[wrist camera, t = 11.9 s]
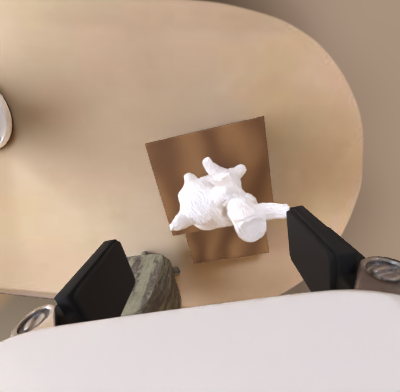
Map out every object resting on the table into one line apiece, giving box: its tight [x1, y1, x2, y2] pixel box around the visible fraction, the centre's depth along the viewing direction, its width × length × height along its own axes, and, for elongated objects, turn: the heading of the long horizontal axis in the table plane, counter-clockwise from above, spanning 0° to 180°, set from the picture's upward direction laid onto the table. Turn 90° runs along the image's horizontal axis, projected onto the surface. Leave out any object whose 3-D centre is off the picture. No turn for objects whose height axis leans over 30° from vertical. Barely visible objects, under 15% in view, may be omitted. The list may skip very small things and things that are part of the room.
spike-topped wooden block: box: [120, 251, 181, 317], centre depth 30 cm, size 14×9×25 cm, turn 102°
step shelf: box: [145, 116, 273, 264], centre depth 30 cm, size 13×22×11 cm, turn 13°
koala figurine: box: [169, 157, 290, 242], centre depth 18 cm, size 8×7×12 cm
